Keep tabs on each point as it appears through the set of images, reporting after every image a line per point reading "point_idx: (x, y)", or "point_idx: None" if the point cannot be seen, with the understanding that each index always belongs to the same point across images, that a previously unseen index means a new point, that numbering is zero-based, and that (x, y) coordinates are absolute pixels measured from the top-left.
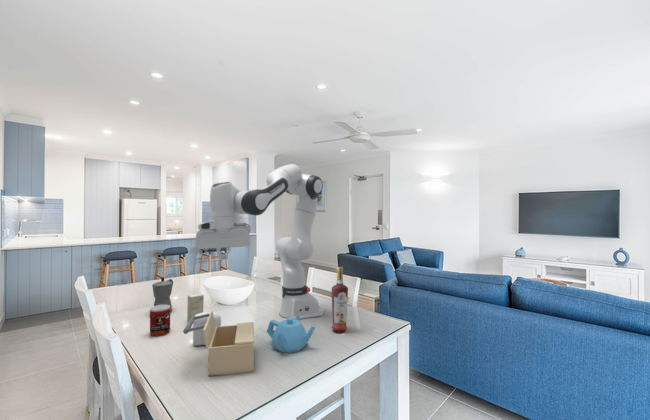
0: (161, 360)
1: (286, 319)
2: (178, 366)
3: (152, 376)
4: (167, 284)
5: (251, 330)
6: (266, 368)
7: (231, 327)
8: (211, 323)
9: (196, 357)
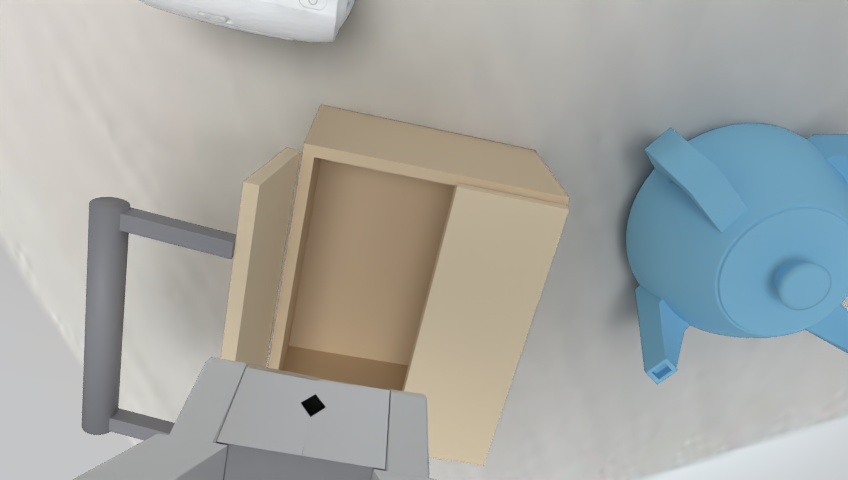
0: (24, 102)
1: (780, 286)
2: (134, 207)
3: (28, 254)
4: None
5: (512, 340)
6: (523, 374)
7: (413, 174)
8: (260, 285)
9: (216, 146)
